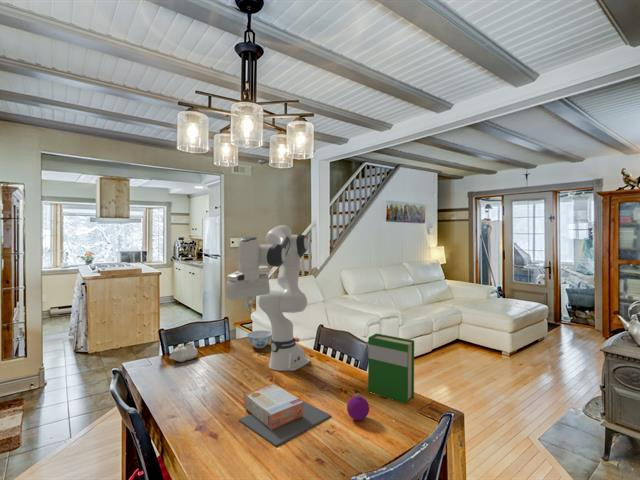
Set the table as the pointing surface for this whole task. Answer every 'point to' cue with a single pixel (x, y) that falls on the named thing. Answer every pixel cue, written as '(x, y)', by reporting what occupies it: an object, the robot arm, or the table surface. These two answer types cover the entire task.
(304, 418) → the mat
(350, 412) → the christmas ornament
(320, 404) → the table surface
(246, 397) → the cracker box
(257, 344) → the chinaware
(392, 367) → the hardback book
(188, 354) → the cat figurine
